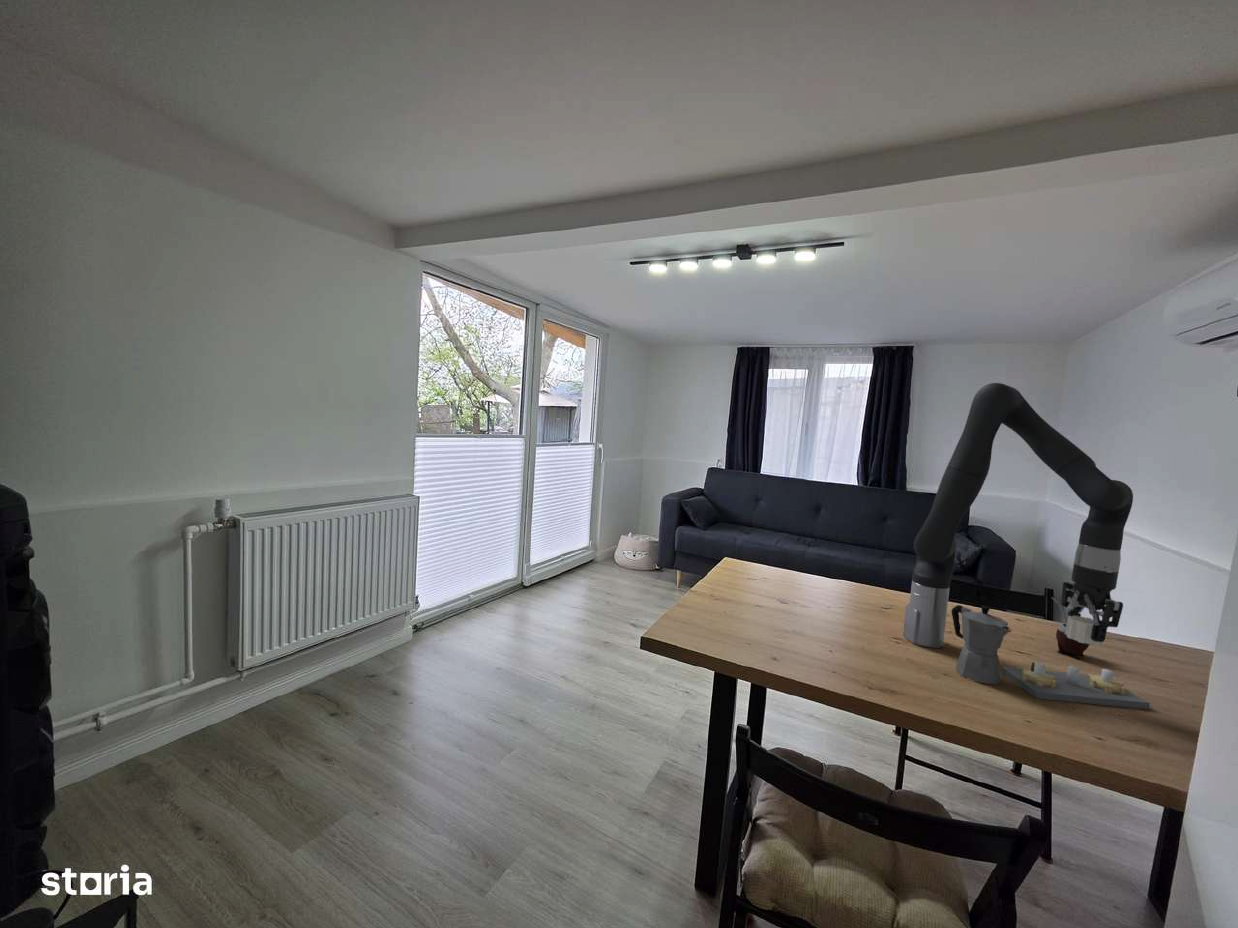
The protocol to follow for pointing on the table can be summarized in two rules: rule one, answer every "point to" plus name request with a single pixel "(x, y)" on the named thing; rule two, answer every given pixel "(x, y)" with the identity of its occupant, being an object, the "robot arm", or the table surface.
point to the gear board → (1074, 686)
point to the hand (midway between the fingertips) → (1084, 634)
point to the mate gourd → (1068, 640)
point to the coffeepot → (979, 644)
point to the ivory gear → (1080, 630)
